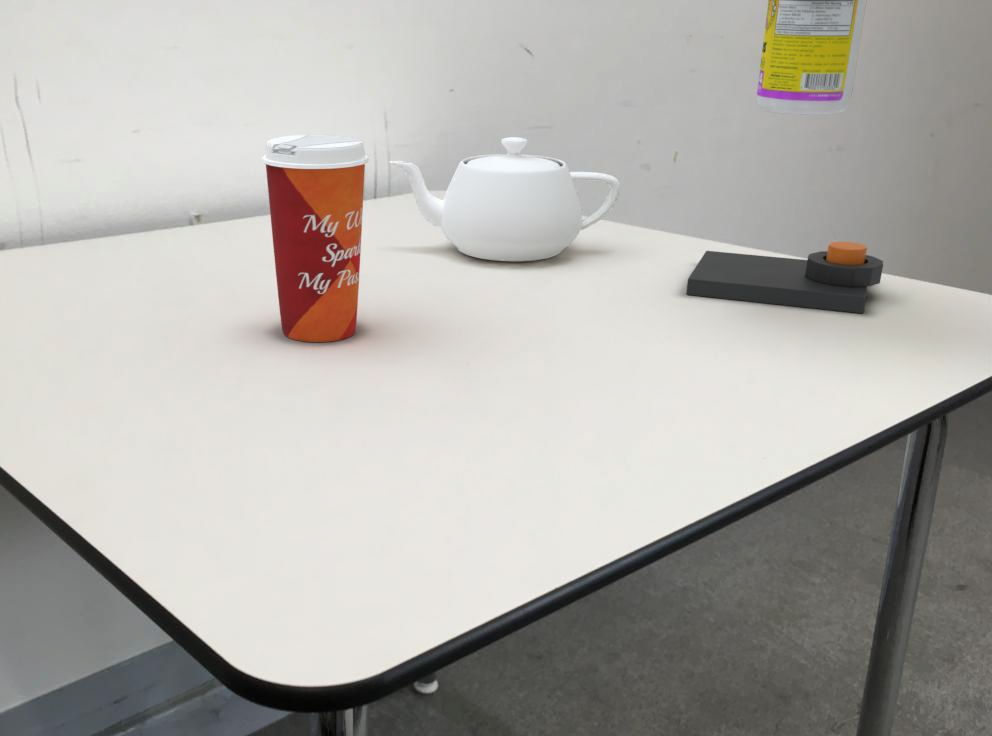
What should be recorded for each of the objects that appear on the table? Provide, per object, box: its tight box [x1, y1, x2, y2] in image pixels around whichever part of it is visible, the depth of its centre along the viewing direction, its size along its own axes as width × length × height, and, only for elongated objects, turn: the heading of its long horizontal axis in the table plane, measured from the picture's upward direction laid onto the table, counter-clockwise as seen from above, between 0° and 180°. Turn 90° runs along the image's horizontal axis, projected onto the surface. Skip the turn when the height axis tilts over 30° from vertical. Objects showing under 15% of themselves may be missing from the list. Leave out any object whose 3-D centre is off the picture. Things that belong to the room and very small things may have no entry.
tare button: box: [826, 241, 868, 265], centre depth 92 cm, size 3×3×2 cm
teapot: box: [388, 136, 621, 262], centre depth 104 cm, size 22×14×11 cm, turn 88°
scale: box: [685, 250, 884, 314], centre depth 94 cm, size 15×11×3 cm
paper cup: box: [260, 134, 370, 343], centre depth 80 cm, size 8×8×14 cm
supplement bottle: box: [756, 0, 867, 116], centre depth 79 cm, size 7×7×13 cm
